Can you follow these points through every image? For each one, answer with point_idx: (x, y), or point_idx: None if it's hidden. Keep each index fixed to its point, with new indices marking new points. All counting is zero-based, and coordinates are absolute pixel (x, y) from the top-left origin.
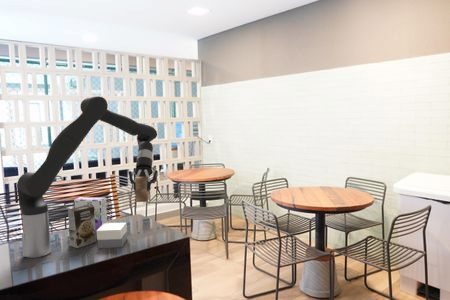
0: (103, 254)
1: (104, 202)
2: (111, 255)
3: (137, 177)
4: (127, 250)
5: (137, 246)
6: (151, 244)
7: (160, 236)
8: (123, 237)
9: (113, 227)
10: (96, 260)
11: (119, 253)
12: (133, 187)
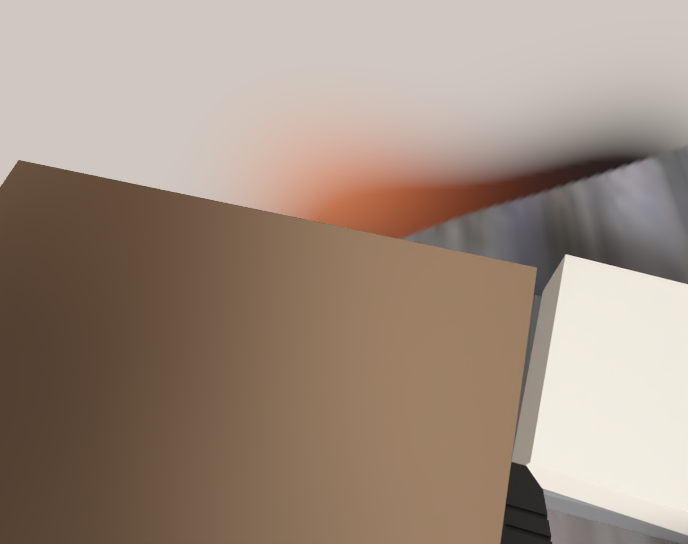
0: (630, 239)
1: None
2: (575, 210)
3: (413, 459)
4: (482, 250)
5: None
6: None
7: None
8: (527, 348)
9: (646, 344)
10: (651, 173)
11: (529, 222)
12: (534, 499)
